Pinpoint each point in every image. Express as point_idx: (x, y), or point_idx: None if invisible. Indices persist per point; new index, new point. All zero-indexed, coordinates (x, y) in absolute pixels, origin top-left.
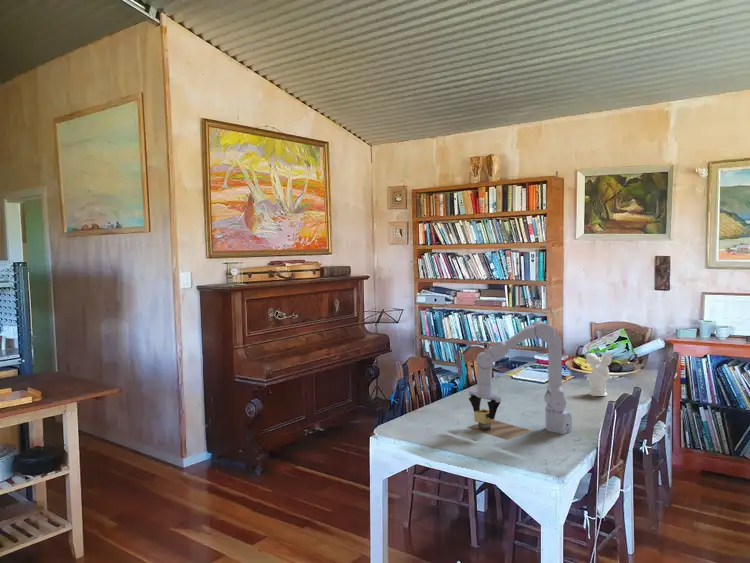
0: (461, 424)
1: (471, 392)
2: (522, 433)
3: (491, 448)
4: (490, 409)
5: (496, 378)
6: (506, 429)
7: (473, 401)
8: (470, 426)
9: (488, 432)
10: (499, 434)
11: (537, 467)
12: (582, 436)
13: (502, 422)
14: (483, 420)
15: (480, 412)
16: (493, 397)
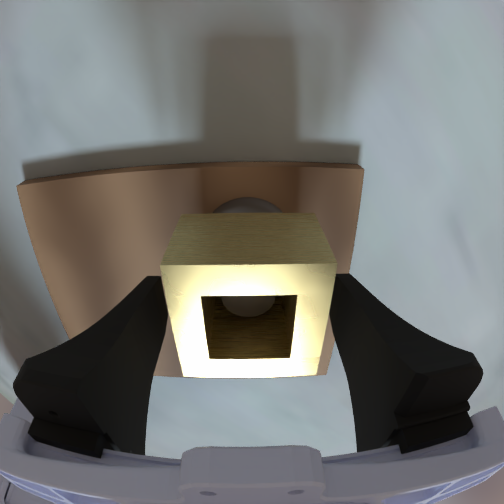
0: (434, 230)
1: (480, 460)
2: (64, 317)
3: (9, 38)
4: (99, 331)
5: None
6: None
7: (398, 359)
8: (353, 207)
9: (169, 196)
10: (99, 221)
11: None
12: None
13: (252, 377)
14: (201, 228)
15: (252, 278)
16: (24, 471)
